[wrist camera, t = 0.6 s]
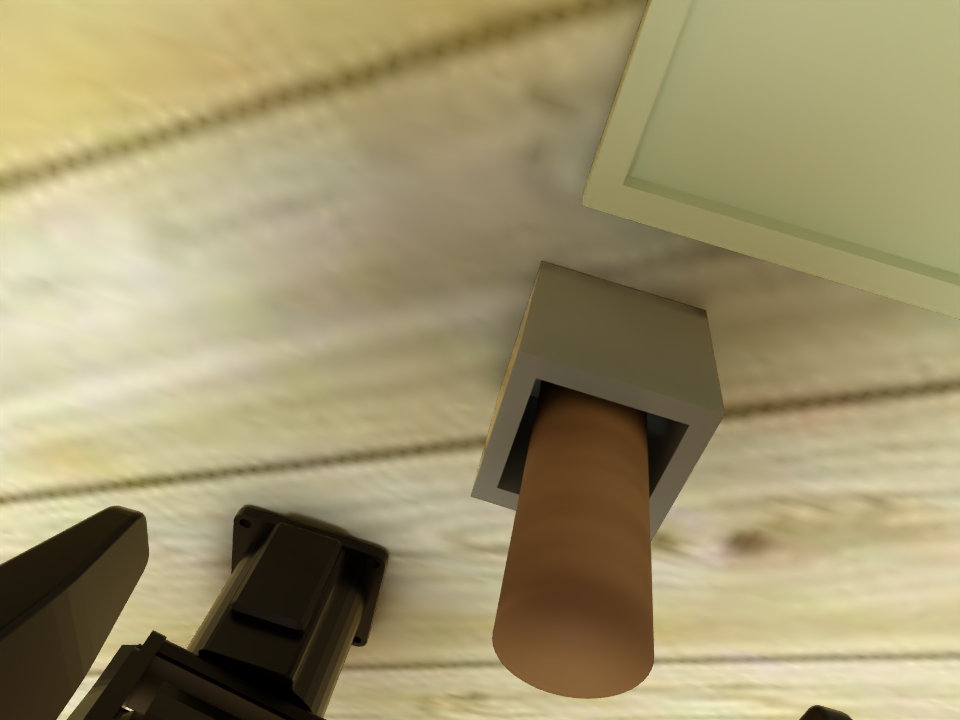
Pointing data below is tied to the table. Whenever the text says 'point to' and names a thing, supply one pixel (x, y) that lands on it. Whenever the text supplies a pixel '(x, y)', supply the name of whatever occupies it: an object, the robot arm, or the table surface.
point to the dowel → (580, 551)
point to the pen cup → (607, 378)
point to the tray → (797, 138)
